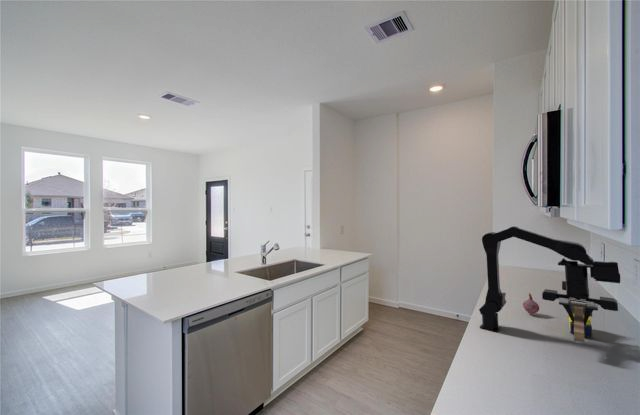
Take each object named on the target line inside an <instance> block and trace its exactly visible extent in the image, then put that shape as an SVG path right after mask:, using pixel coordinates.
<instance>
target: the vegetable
mask: <svg viewBox="0 0 640 415" xmlns="http://www.w3.org/2000/svg"><path fill="white" fill-rule="evenodd" d="M528 298H529V299H526V300H524V301H523V303H522V307H523V309H524V311H525V312H527V313H528V314H529V315H533V314H536V313H539V311H540V305H539V304H538V303H537V302H536V301H535V300H534V299H533V296H532V294H531V293H530V292H528Z"/></svg>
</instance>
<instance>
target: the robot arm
mask: <svg viewBox="0 0 640 415" xmlns="http://www.w3.org/2000/svg"><path fill="white" fill-rule="evenodd" d="M510 238H516V239H520V240H522V241H526V242H528V243H531V244H534V245H537V246H539V247H543V248H546V249H549V250H551V251H553V252H555V253H557V254H558V255H561V256H563V258H562V259H561V260H559V261H558V262H557V266H564V273H565V274H564V275H565V277H564V278H565V281H563V280H561V289H562V291H565V292H566V294H565V293H559V292H558V290H554V289H547V288H545V289H544V290H543V291H542V293H541V298H542V300H543V301H549V302H555V301H556V300H557V299H558V305H561V306H562V307H563V309H564V310H565V312H566V313H567V316H568V315H569V317H570V319H571V321H572V323H574V315H573V310H572V305H571V302H575V303H582V304H586V306H585V314H584V325H586V323H587V321H588V318H589V316H590V315H591V313H592V314H593V312H594V311H599V306H600V308H601V309H603V310H607V311H612V312H613V311H614V312H619V305H618V304H619V303H618V301H617V299H615V297H613V298H612V297H605V296H599V298H593V297H590V288H589V274H590V278H592V279H593V280H595V282H599V283H600V282H601V283H602V282H603V283H612V284H621V273H620V270H619V262H617V261H599V260H598V261H597V260H595V261H594V259H593V257H591V256H590V255H589V254H588V253H587V249H586V247H585V246H584V245H583V244H581V243H579V242H575V241H569V240H564V239H563V240H561V239H555V238H551V237H550V236H549V237H548V236H545V235H542V234H539V233H537V232H532V231H529V230H526V229H524V228H520V227H518V226H515V225H514V226H510V227H509V228H506V229H504V230H500V231H497V232H496V231H495V232H488V233H485V234H484V235H482V237H481V243H482V246H483V249H484V252H485V254H486V272H487V273H486V274H487V292H486V295H485V302H484V303H483V305H482V306H481V307H480V308H479V309H478V311H479V313H480V315H481V317H482V318H481V322H482V323H481V325H479V329H483V330H485V331H486V330H487V331H490V332H494V333H495V332H496V333H499V331H500V330H501V328H502V326H501V325H499V313H500V311H502V310H503V308H504V306H505V305H506V303H507V300H506V294H507V293H506V292H502V290H501V284H500V283H501V282H500V281H501V279H500V264H499V253H500V249H501V245H502V242H503V241H505V240H508V239H510ZM565 258H566V259H565ZM567 259H568V260H567ZM578 262H580V263H578ZM588 268H589V274H588ZM590 317H591V316H590Z"/></svg>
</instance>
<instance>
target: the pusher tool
mask: <svg viewBox="0 0 640 415" xmlns="http://www.w3.org/2000/svg"><path fill="white" fill-rule="evenodd" d="M571 305H572V310H573V314H574V334H573V340H574V341H578V342H582V343H585V338H586V336H584V314H585V306H586V303H582V302H576V301H571ZM591 317H592V318H593V312H592V313H591V315H590V318H591Z"/></svg>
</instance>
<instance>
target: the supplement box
mask: <svg viewBox="0 0 640 415" xmlns="http://www.w3.org/2000/svg"><path fill="white" fill-rule="evenodd" d="M573 315H574V314H573ZM567 316H568V317H567V318H568V326H569V334H572V335H574V323H572V321H571V319H570V317H569V315H568V314H567ZM592 328H593V326H592V322H591V316H589V318H588V321H587V323H586V325H584V337H587V338H591V337H592V333H593V332H592Z"/></svg>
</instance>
